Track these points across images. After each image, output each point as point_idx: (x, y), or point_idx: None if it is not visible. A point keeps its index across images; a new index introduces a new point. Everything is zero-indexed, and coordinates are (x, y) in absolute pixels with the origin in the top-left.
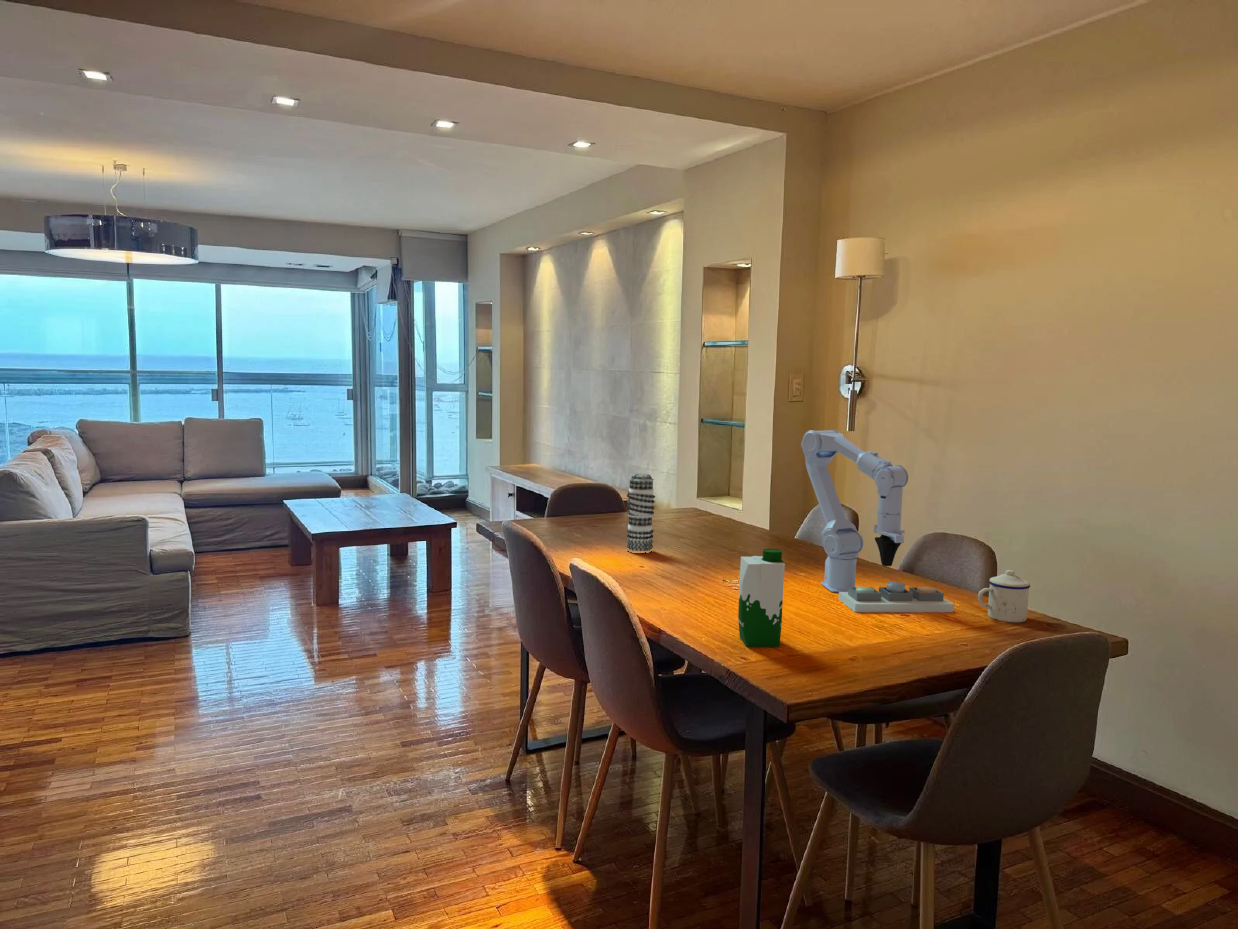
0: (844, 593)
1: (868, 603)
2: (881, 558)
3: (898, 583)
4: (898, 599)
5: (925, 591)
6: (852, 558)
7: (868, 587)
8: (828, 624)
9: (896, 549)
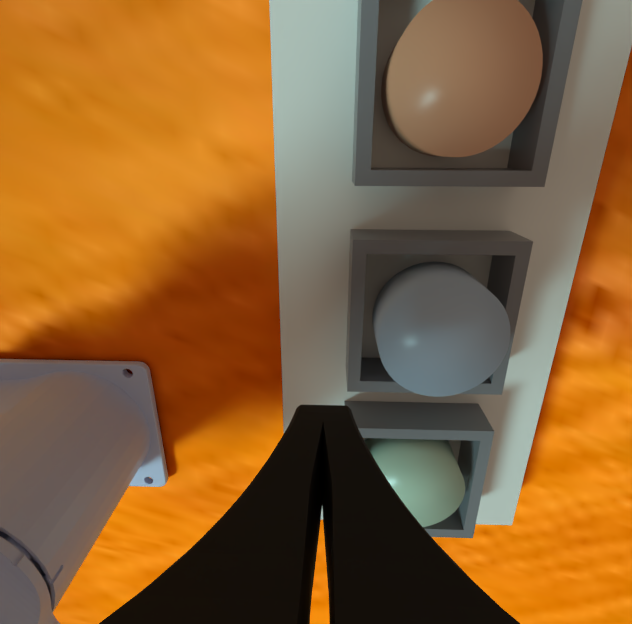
0: None
1: (510, 472)
2: (317, 536)
3: (433, 318)
4: None
5: (522, 118)
6: (23, 558)
7: (384, 464)
8: (624, 612)
9: (436, 555)
